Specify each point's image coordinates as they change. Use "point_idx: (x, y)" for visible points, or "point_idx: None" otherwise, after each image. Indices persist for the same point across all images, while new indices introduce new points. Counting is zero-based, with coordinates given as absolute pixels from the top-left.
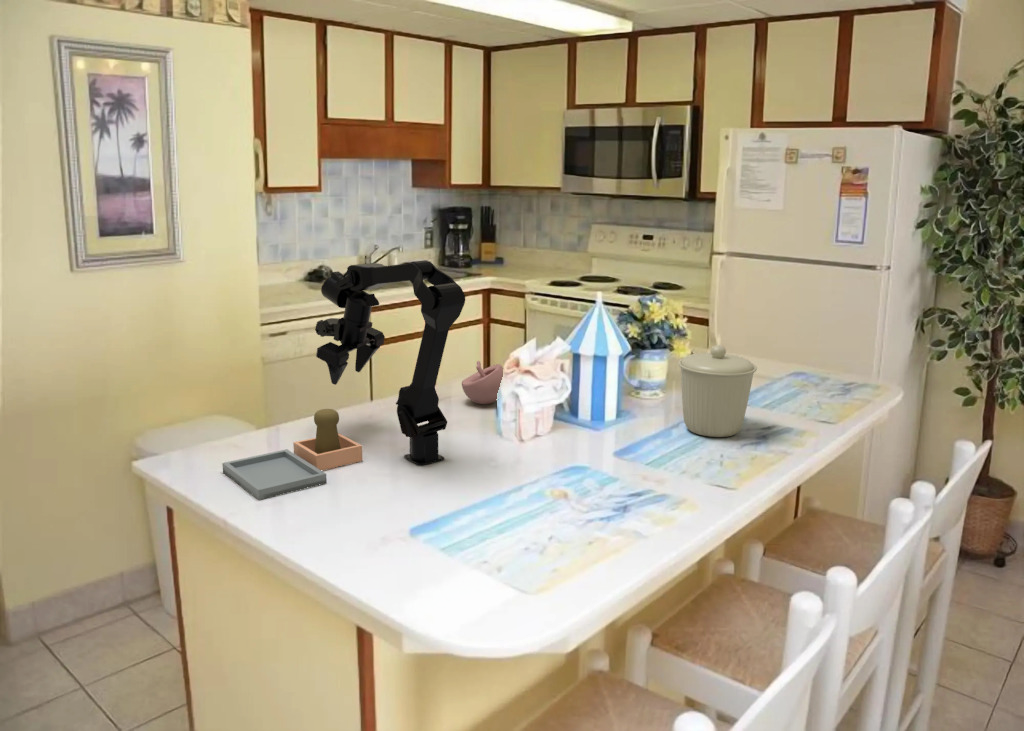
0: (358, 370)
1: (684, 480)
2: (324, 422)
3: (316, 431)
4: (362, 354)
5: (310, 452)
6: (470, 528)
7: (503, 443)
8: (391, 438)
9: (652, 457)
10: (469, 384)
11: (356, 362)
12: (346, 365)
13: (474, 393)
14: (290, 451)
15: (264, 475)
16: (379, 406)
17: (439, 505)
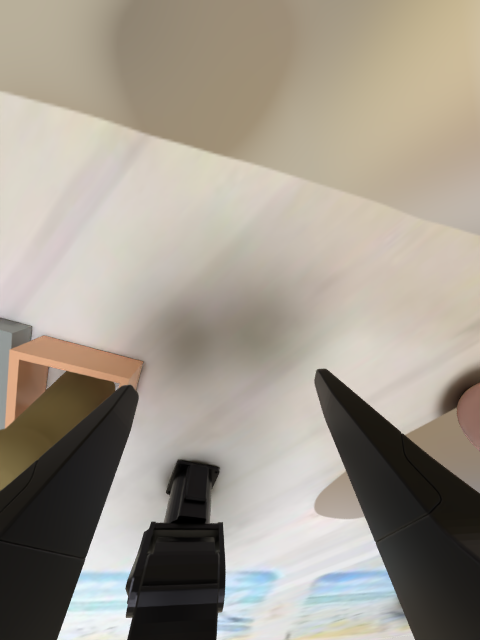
0: (317, 388)
1: (286, 622)
2: None
3: (17, 417)
4: (386, 508)
5: (5, 417)
6: (72, 596)
7: (301, 504)
8: (239, 395)
9: (329, 593)
10: None
11: (341, 410)
12: (56, 623)
13: (469, 423)
14: (11, 348)
15: None
16: (400, 249)
17: (90, 559)
